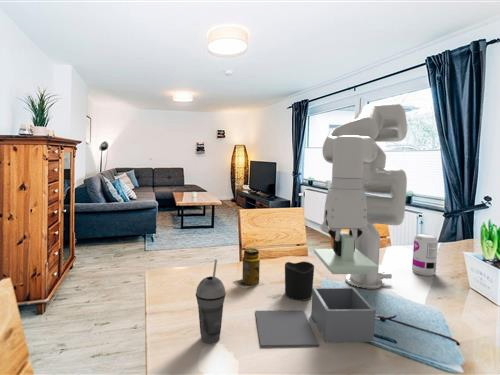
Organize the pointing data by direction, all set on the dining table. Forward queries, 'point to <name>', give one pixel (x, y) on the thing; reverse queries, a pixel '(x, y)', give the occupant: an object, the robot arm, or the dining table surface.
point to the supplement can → (425, 254)
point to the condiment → (250, 269)
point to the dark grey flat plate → (284, 329)
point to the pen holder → (299, 280)
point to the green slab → (346, 258)
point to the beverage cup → (210, 307)
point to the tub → (342, 314)
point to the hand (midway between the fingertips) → (343, 254)
